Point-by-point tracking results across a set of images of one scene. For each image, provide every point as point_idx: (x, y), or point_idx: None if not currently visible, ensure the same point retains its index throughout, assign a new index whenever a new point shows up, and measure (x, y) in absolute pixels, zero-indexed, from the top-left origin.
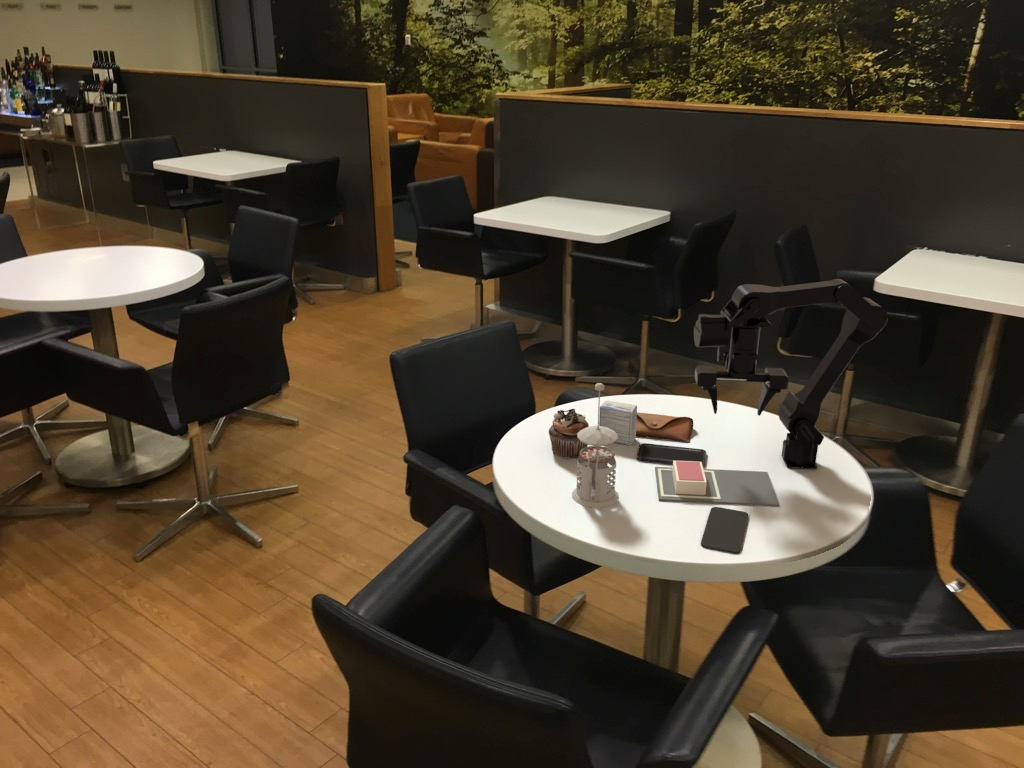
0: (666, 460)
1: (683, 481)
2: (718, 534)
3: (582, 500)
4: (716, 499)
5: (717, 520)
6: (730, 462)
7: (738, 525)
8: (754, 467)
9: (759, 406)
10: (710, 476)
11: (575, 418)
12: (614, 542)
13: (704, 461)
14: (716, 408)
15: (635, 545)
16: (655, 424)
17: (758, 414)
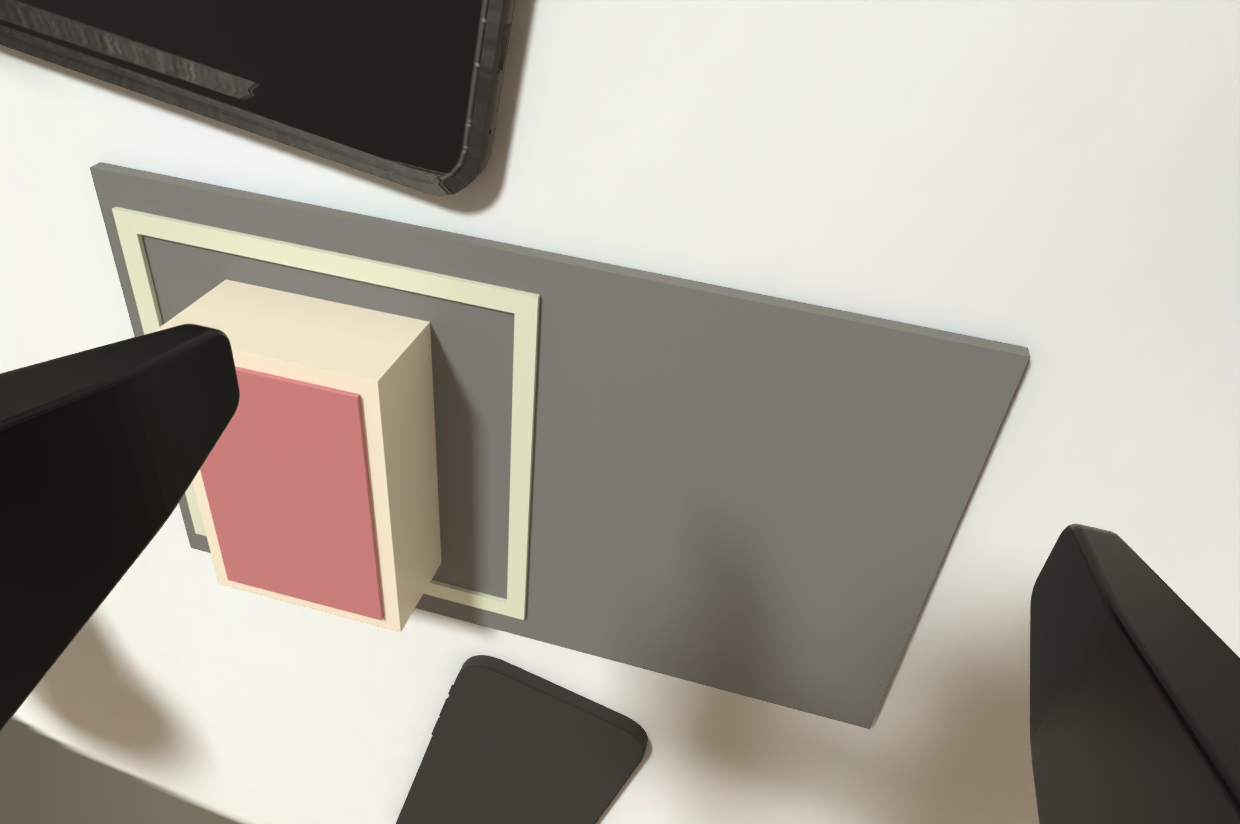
0: (151, 72)
1: (259, 592)
2: (469, 816)
3: None
4: (500, 612)
5: (477, 751)
6: (753, 95)
7: (569, 799)
8: (963, 222)
9: (1076, 771)
10: (502, 365)
11: None
12: (91, 737)
13: (475, 132)
14: (151, 520)
15: (165, 767)
16: None
17: (1033, 623)
